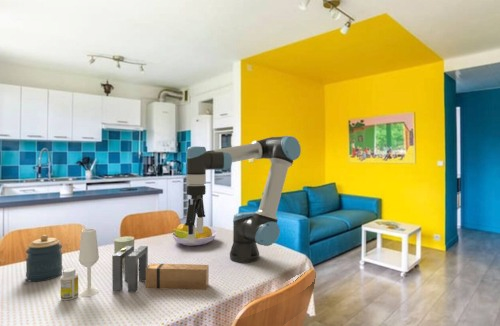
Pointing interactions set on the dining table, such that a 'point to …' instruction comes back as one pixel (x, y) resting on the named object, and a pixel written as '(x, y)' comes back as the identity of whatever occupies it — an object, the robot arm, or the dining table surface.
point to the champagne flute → (88, 257)
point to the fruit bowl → (200, 238)
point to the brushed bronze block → (177, 276)
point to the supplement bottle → (69, 284)
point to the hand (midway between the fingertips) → (195, 237)
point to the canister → (44, 259)
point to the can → (123, 244)
